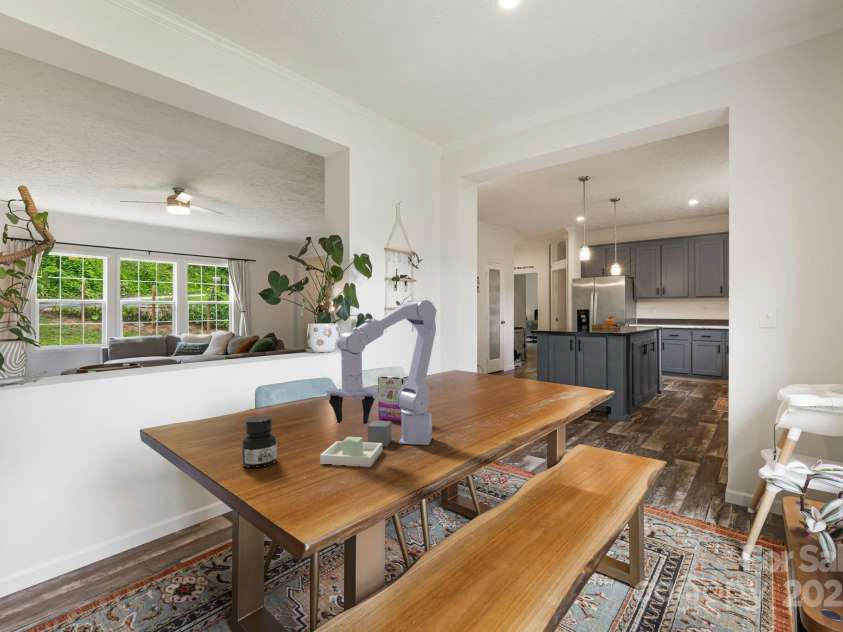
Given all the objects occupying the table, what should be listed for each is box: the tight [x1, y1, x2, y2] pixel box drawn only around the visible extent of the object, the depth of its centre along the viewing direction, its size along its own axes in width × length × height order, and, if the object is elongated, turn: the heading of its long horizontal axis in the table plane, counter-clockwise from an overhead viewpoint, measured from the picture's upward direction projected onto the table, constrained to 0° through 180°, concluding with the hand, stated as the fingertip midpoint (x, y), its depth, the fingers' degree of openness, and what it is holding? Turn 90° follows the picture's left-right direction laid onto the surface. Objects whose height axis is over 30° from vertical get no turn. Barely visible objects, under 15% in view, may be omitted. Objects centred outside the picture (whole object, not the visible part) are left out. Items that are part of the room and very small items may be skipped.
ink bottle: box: [241, 415, 278, 468], centre depth 113 cm, size 10×9×12 cm
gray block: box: [367, 420, 393, 447], centre depth 129 cm, size 6×6×6 cm
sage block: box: [342, 436, 364, 456], centre depth 116 cm, size 4×4×4 cm
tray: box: [319, 440, 384, 468], centre depth 115 cm, size 14×12×2 cm
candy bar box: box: [377, 374, 409, 423], centre depth 155 cm, size 11×5×16 cm, turn 62°
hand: (352, 422), depth 117 cm, fingers open, 7 cm apart
